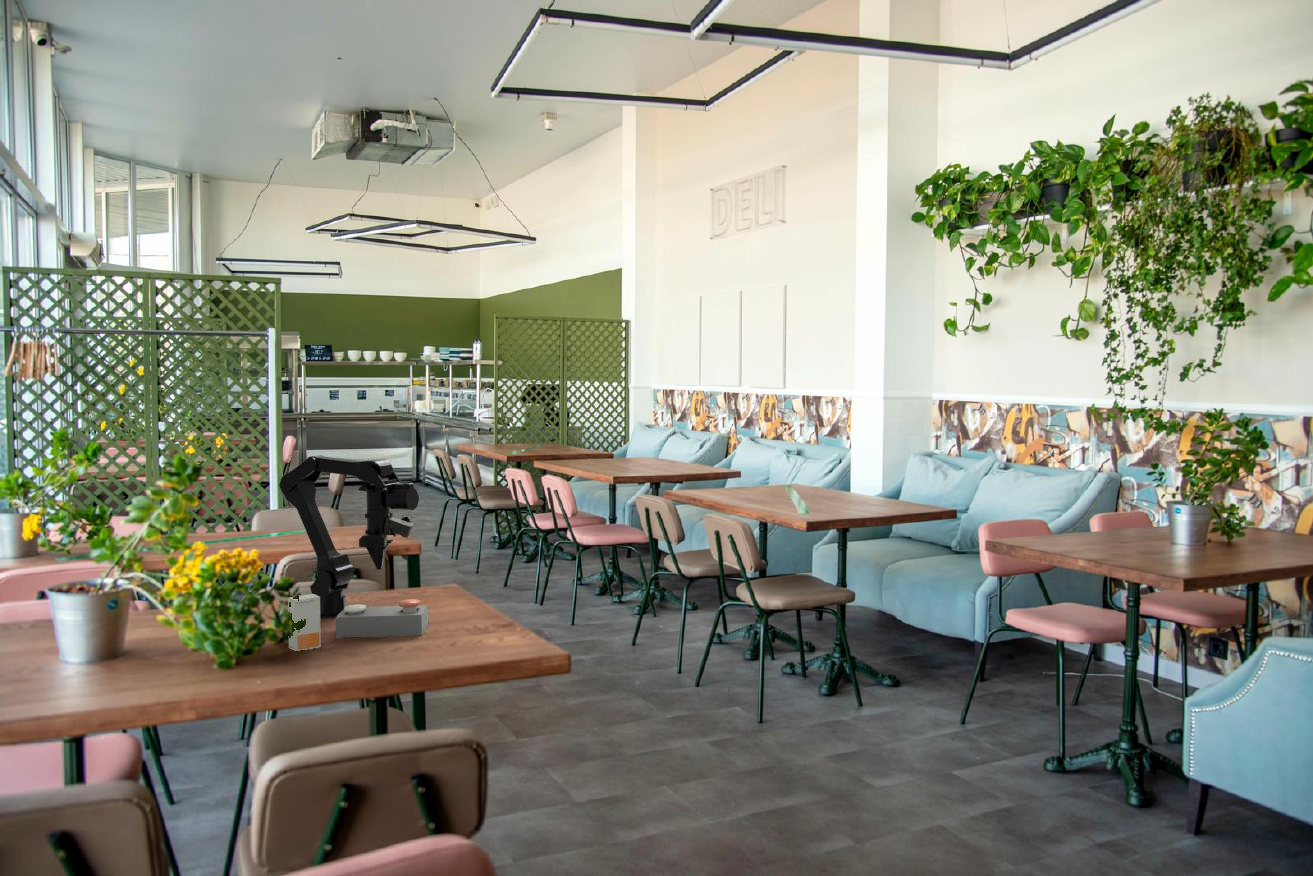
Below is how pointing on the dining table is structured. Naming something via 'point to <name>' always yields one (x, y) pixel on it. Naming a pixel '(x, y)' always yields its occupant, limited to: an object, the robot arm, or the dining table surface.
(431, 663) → the dining table surface
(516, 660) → the dining table surface
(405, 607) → the red plunger
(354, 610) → the white plunger
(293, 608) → the skincare box
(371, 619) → the block
